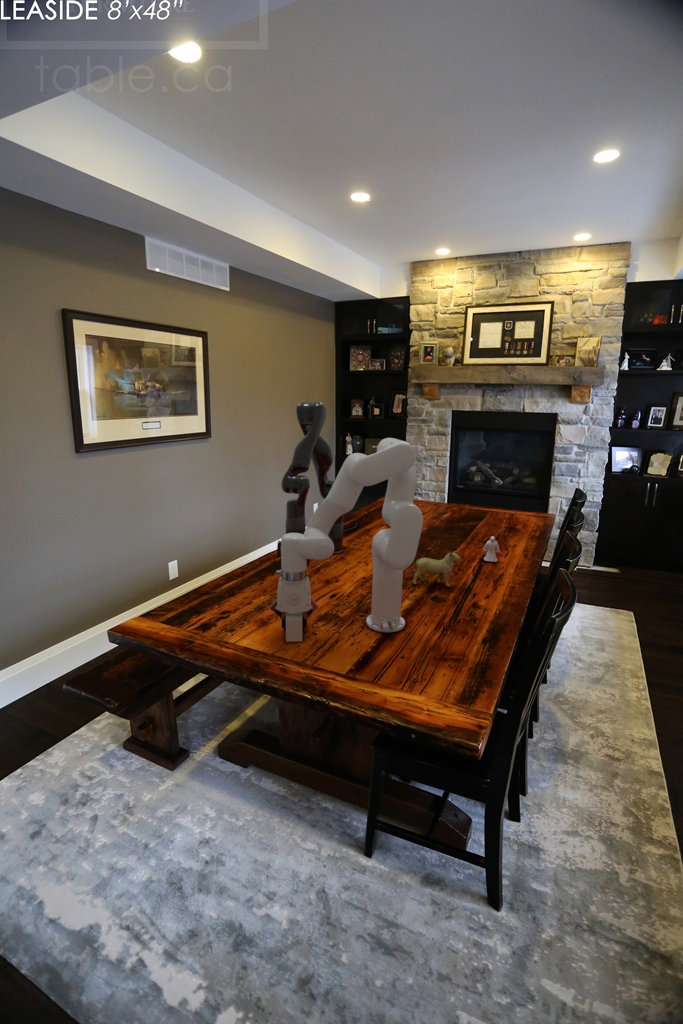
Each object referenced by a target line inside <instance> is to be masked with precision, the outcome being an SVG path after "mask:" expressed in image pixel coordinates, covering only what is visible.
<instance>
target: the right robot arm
mask: <svg viewBox="0 0 683 1024" xmlns="http://www.w3.org/2000/svg"><path fill="white" fill-rule="evenodd" d="M416 461H417V451H416V449H415V447H414V446H413V445H412V444H411V443H409V442H407V441H405V440H402V439H399V438H395V437H394V438H393V437H385V438H383V439H381V440H380V441H379V442H378V444H377V446H376V452H374V453H372V454H365V453H362V452H354V453H351V454H349V455H348V456H347V457H346V458H345V460H344V461H343V464H342V465H341V467H340V468H339V469H340V470H339V471H338V473H337V476H336V478H335V480H334V481H335V482H334V484H333V486H332V488H331V490H330V492H329V493H328V495H327V497H326V498H325V499H323V500H322V501H321V503H320V504H319V506H318V507H317V508H316V509H315V511H314V512H313V513H312V515H311V516H310V519H309V521H308V523H307V525H306V527H305V532H304V535H303V534H300V533H288V534H286V533H285V534H284V535H282V537H281V540H280V541H281V551H280V553H281V557H280V560H281V561H280V563H281V568H280V569H279V570H276V576H280V577H279V579H278V583H277V593H276V594H277V595H276V599H274V601H273V602H272V604H271V605H269V610H270V611H272V612H273V613H274V614H276V615H277V617H279V618H280V620H281V628H282V629H283V632H285V633H286V612H302V632H305V628H308V619H309V617H310V616H311V615H312V614H313V613H314V612H316V611H317V610H318V609H319V605H318V603H316V601H315V600H314V599H313V598H312V596H311V595H312V592H311V591H312V590H311V582H310V579H309V576H307V573H308V571H307V569H308V566H307V559H309V560H314V561H315V560H316V561H323V560H328V559H330V557H332V556H333V552H334V544H333V542H332V540H331V539H330V538H329V536H328V534H329V532H330V530H331V528H332V526H333V524H334V522H335V521H336V520H337V519H338V518H339V517H340V516H341V515H343V516H344V515H345V514H347V513H349V512H351V511H353V509H354V507H355V506H356V503H357V501H358V500H359V497H360V496H361V493H362V491H363V489H364V487H371V486H375V485H377V484H380V483H382V482H385V481H386V480H387V486H386V491H385V496H384V501H383V505H382V509H381V517H382V521H384V522H385V524H387V525H388V527H390V528H383V529H381V530H379V531H377V532H376V533H375V534H374V536H373V538H372V541H371V558H372V585H371V586H372V587H371V607H370V609H371V613H370V615H368V616H367V617H366V621H365V622H366V623H365V624H366V625H367V627H368V628H369V629H372V630H373V631H376V632H379V633H396V632H398V631H402V630H403V629H404V628H405V626H406V620H405V618H403V617H402V615H401V614H402V599H403V598H402V597H403V580H404V570H406V569H407V568H409V567H410V566H411V565H412V564H413V563H414V560H415V559H416V556H417V552H418V548H419V544H420V541H421V540H420V539H421V535H422V531H423V525H424V517H423V513H422V511H421V509H420V508H419V506H417V505H416V504H415V503H414V498H415V493H416V487H417V470H416V466H415V464H416Z"/></svg>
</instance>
